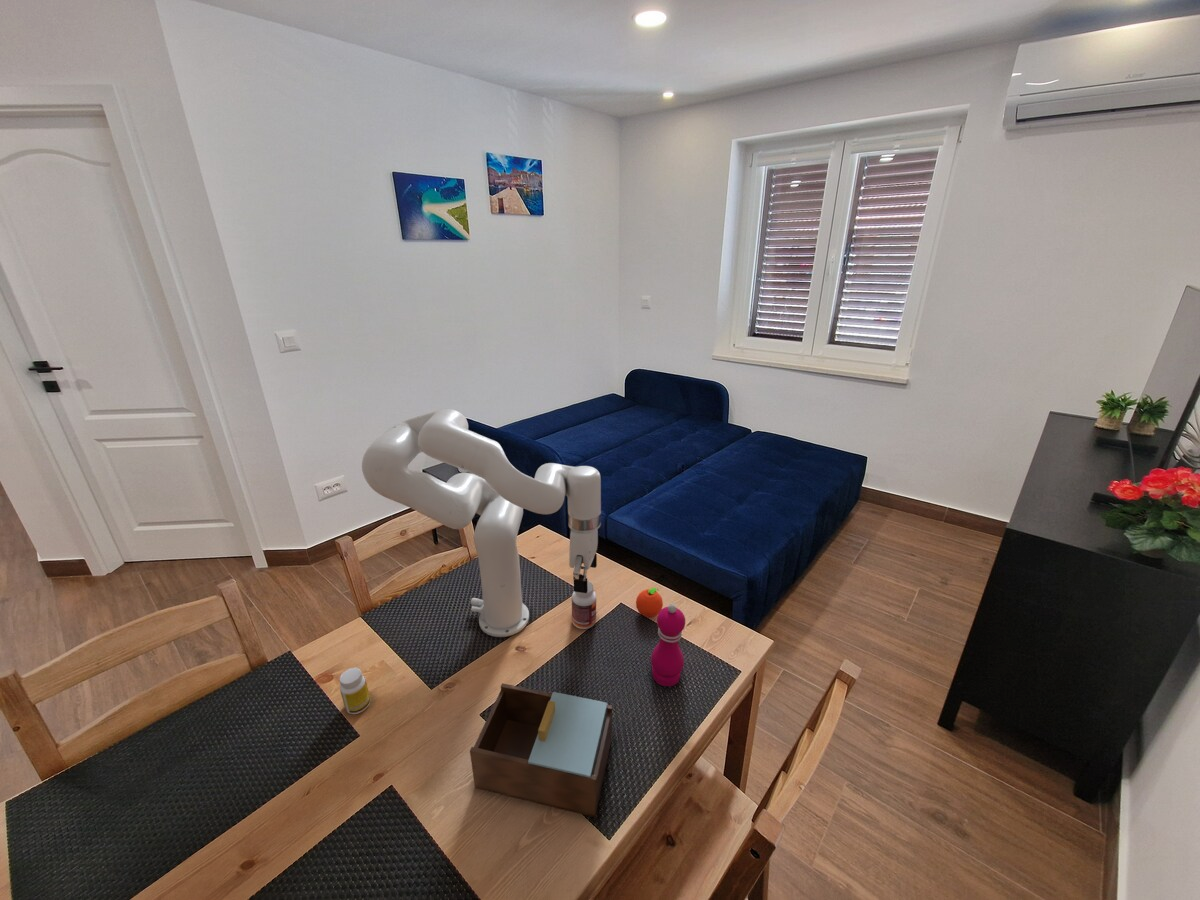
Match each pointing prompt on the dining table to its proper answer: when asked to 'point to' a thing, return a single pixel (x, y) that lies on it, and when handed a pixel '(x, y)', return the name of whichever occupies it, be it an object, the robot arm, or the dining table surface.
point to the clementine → (649, 602)
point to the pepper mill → (668, 647)
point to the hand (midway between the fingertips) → (585, 578)
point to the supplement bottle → (354, 691)
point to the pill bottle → (584, 608)
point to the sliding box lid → (569, 734)
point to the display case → (510, 747)
